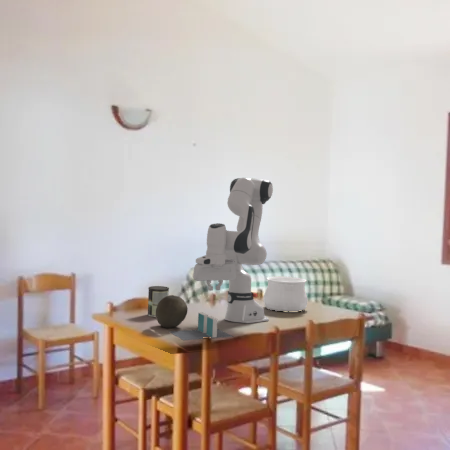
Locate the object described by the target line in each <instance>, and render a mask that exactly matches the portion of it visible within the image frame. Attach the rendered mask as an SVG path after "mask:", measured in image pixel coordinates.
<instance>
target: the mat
mask: <svg viewBox="0 0 450 450" xmlns="http://www.w3.org/2000/svg"><path fill="white" fill-rule="evenodd" d="M168 333H169V334H171V335H173V336H175V337H177V338H179V339H180V340H182V341H192V340H193V341H194V340H195V341H196V340H204V339H203V337H211V336H209V335H207V334H206V333H203V332H201V331H199V330H198V329H188V330H186V329H185V330H173V331H172V330H171V331H168ZM232 337H233V338H234V336H233V335H232V334H230V333H228V332H226V331H223V330H222V329H219V328H217V337H211V338H210V339H218V338H219V339H220V338H232Z"/></svg>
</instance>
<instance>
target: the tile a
mask: <svg viewBox="0 0 450 450" xmlns="http://www.w3.org/2000/svg"><path fill="white" fill-rule="evenodd" d="M207 316H209V314H207V313H206V312H205V313H204V312H202V311H201V312H198V316H197V317H198V318H197V330H199V331H201V332H203V333H207Z"/></svg>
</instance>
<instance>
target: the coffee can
mask: <svg viewBox="0 0 450 450" xmlns="http://www.w3.org/2000/svg"><path fill="white" fill-rule="evenodd" d="M147 289H148V298H147V301H148V303H147V316H148V317H151V318H156V308H157V305H158V303H159V302H160V301H161V300H162V299H163V298H164V297H166V296H169V295H170V294H169V293H170V292H169V290H170V287H169V286H164V285H152V286H148V288H147Z"/></svg>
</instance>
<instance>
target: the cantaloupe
mask: <svg viewBox="0 0 450 450" xmlns="http://www.w3.org/2000/svg"><path fill="white" fill-rule="evenodd" d="M188 311H189V310H188V305H187V302H186V301H185V300H184V299H183V298H181V296H177V295H173V294H171V295H170V294H169V295H168V296H166V297H164V298H163V299H162V300H161V301H160V302H159V303H158V305H157V308H156V317H155V318H156V321H157V323H158V324H159V325H160V326H161V327H162V328H164V329H172V328H176V327H178V326H179V325H181V324H182V323H183V322H184V320H185V319H186V317H187V314H188Z"/></svg>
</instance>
